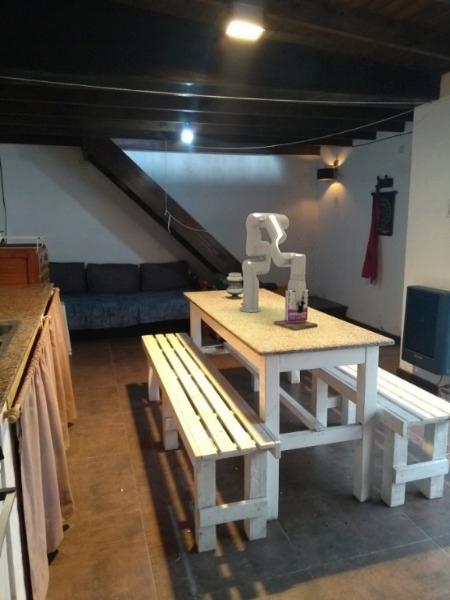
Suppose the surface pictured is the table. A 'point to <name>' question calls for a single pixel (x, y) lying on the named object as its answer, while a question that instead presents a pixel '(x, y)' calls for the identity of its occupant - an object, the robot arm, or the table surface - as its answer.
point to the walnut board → (295, 324)
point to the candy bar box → (294, 307)
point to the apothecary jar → (235, 285)
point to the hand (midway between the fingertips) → (296, 311)
